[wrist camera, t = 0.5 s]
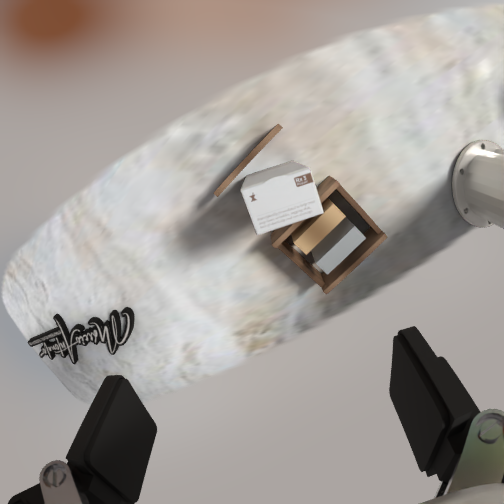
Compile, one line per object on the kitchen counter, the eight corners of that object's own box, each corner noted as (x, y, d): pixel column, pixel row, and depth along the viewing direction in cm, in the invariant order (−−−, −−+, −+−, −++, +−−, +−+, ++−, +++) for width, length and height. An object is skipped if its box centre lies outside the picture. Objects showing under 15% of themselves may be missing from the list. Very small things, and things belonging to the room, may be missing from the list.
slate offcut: (343, 214, 37) (354, 225, 32) (354, 225, 37) (366, 238, 33) (309, 247, 39) (315, 263, 34) (320, 258, 39) (327, 274, 34)
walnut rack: (276, 125, 33) (278, 123, 30) (376, 227, 37) (387, 236, 34) (218, 187, 36) (213, 193, 32) (320, 279, 40) (326, 294, 36)
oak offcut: (324, 194, 36) (333, 203, 32) (335, 206, 37) (345, 216, 32) (289, 229, 38) (293, 242, 33) (301, 240, 38) (306, 254, 34)
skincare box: (257, 208, 37) (255, 241, 26) (244, 173, 36) (235, 190, 24) (306, 192, 36) (326, 218, 25) (294, 156, 35) (310, 166, 23)
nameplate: (113, 289, 41) (150, 343, 44) (117, 284, 42) (152, 337, 45) (20, 332, 45) (49, 372, 48) (24, 328, 47) (53, 367, 50)
